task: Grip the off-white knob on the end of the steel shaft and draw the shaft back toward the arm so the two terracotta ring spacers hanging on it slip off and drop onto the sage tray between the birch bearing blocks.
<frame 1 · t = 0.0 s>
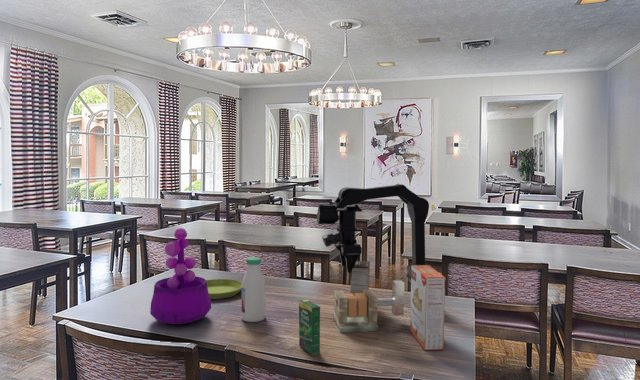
hand: (346, 269, 155), 15 cm above the table, tool pointing down, fingers open, 9 cm apart
shaft: (371, 298, 144), point 8 cm above the table, slide at 0.0 cm, touching spacer 1, spacer 2
saucer: (216, 294, 175), on the table
cracker box: (425, 341, 132), on the table
spacer 1: (350, 305, 143), point 6 cm above the table, touching shaft
spacer 2: (360, 304, 143), point 6 cm above the table, touching shaft
decorative plant: (181, 320, 145), on the table
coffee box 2: (308, 350, 124), on the table
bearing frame: (355, 324, 144), on the table
milk bottle: (253, 319, 148), on the table
coffee box: (358, 308, 159), on the table
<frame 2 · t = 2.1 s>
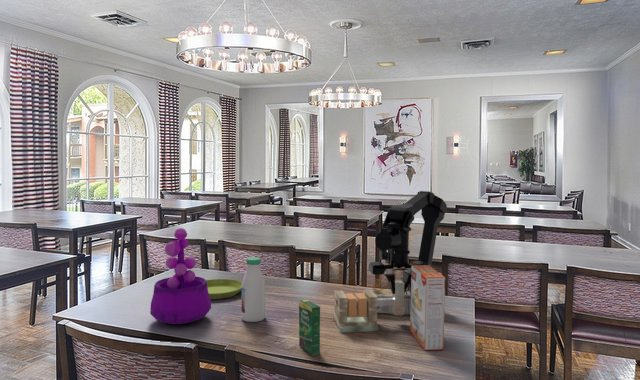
hand: (398, 293, 145), 10 cm above the table, tool pointing down, fingers closed on shaft, 3 cm apart
shaft: (371, 298, 144), point 8 cm above the table, slide at 0.0 cm, touching gripper, spacer 1, spacer 2
coffee box: (365, 299, 159), point 3 cm above the table, touching arm
everything else where it was.
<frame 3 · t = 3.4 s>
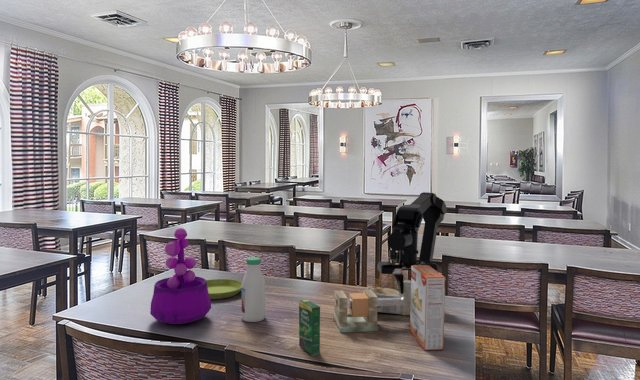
hand: (406, 293, 146), 9 cm above the table, tool pointing down, fingers closed on shaft, 3 cm apart
shaft: (380, 298, 144), point 8 cm above the table, slide at 2.8 cm, touching gripper, spacer 1, spacer 2
spacer 1: (354, 304, 143), point 6 cm above the table, touching shaft, spacer 2
spacer 2: (362, 304, 144), point 6 cm above the table, touching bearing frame, shaft, spacer 1
coffee box: (366, 298, 157), point 4 cm above the table, touching arm
everything else where it was.
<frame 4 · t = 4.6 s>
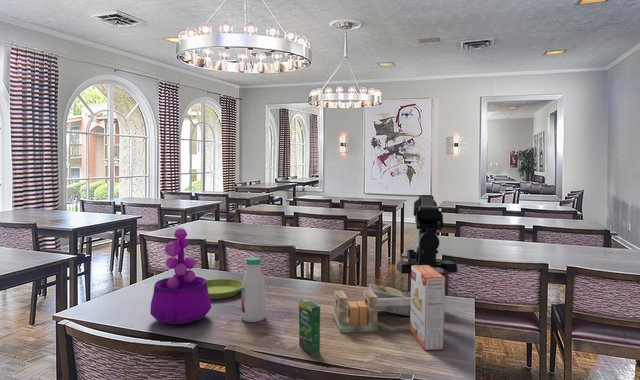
hand: (426, 293, 147), 9 cm above the table, tool pointing down, fingers closed on shaft, 3 cm apart
shaft: (400, 297, 145), point 8 cm above the table, slide at 9.4 cm, touching gripper
spacer 1: (352, 313, 143), point 4 cm above the table, touching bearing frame
spacer 2: (361, 312, 144), point 4 cm above the table, touching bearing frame
coffee box: (368, 295, 154), point 6 cm above the table, touching arm
everything else where it was.
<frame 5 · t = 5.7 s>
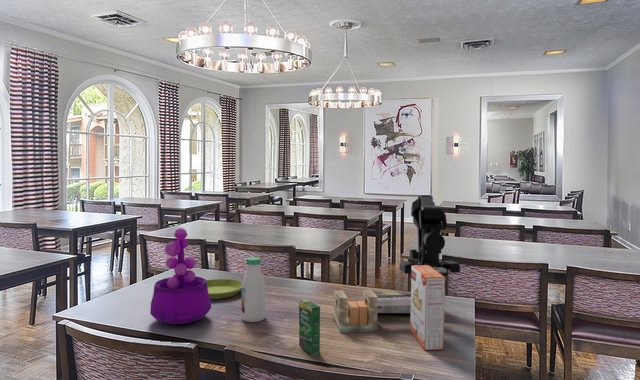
hand: (428, 292, 147), 9 cm above the table, tool pointing down, fingers closed on shaft, 3 cm apart
shaft: (403, 297, 145), point 8 cm above the table, slide at 10.4 cm, touching gripper
coffee box: (366, 301, 155), point 4 cm above the table, touching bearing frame
everything else where it was.
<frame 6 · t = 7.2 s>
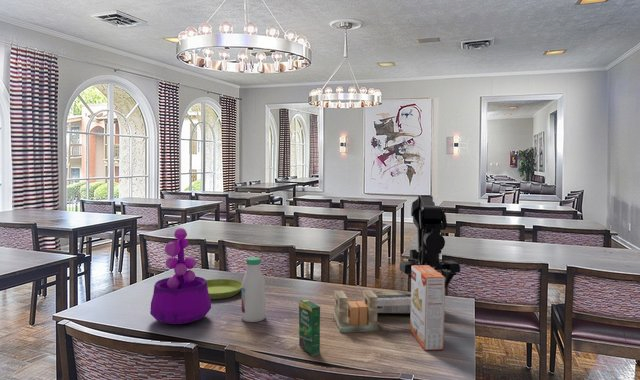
hand: (429, 292, 147), 9 cm above the table, tool pointing down, fingers open, 9 cm apart
shaft: (403, 297, 145), point 8 cm above the table, slide at 10.4 cm
everything else where it was.
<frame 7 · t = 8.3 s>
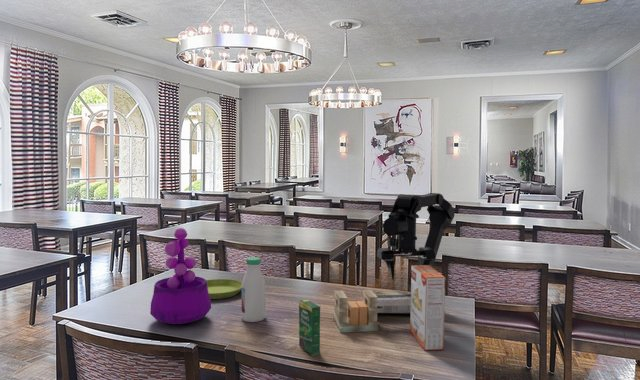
hand: (405, 278, 150), 13 cm above the table, tool pointing down, fingers open, 9 cm apart
nothing on the table moved.
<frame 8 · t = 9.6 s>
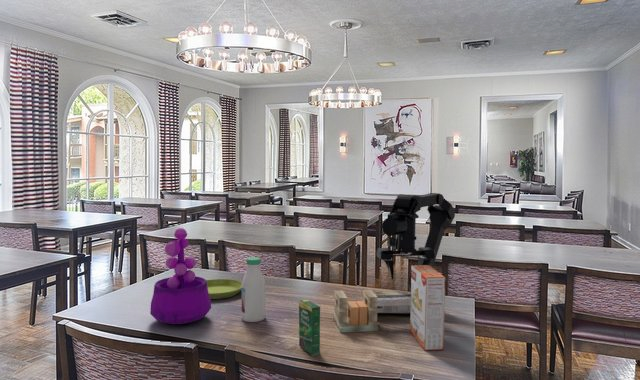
hand: (405, 278, 150), 13 cm above the table, tool pointing down, fingers open, 9 cm apart
nothing on the table moved.
at the end: spacer 2 inside the target area (2.1 cm from its centre), point 3.7 cm above the table; spacer 1 inside the target area (0.9 cm from its centre), point 3.7 cm above the table; shaft slide at 10.4 cm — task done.
